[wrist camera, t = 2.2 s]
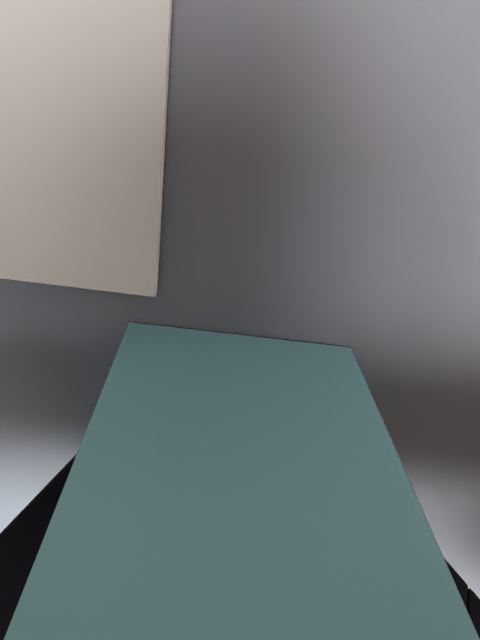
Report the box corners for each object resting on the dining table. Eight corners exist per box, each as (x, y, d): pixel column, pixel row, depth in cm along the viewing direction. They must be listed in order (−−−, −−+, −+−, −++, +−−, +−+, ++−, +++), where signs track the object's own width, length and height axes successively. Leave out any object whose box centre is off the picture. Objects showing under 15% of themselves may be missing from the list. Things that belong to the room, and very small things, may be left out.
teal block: (350, 347, 10) (524, 741, 4) (300, 484, 12) (361, 834, 7) (128, 322, 9) (-34, 735, 3) (126, 471, 12) (34, 838, 6)
